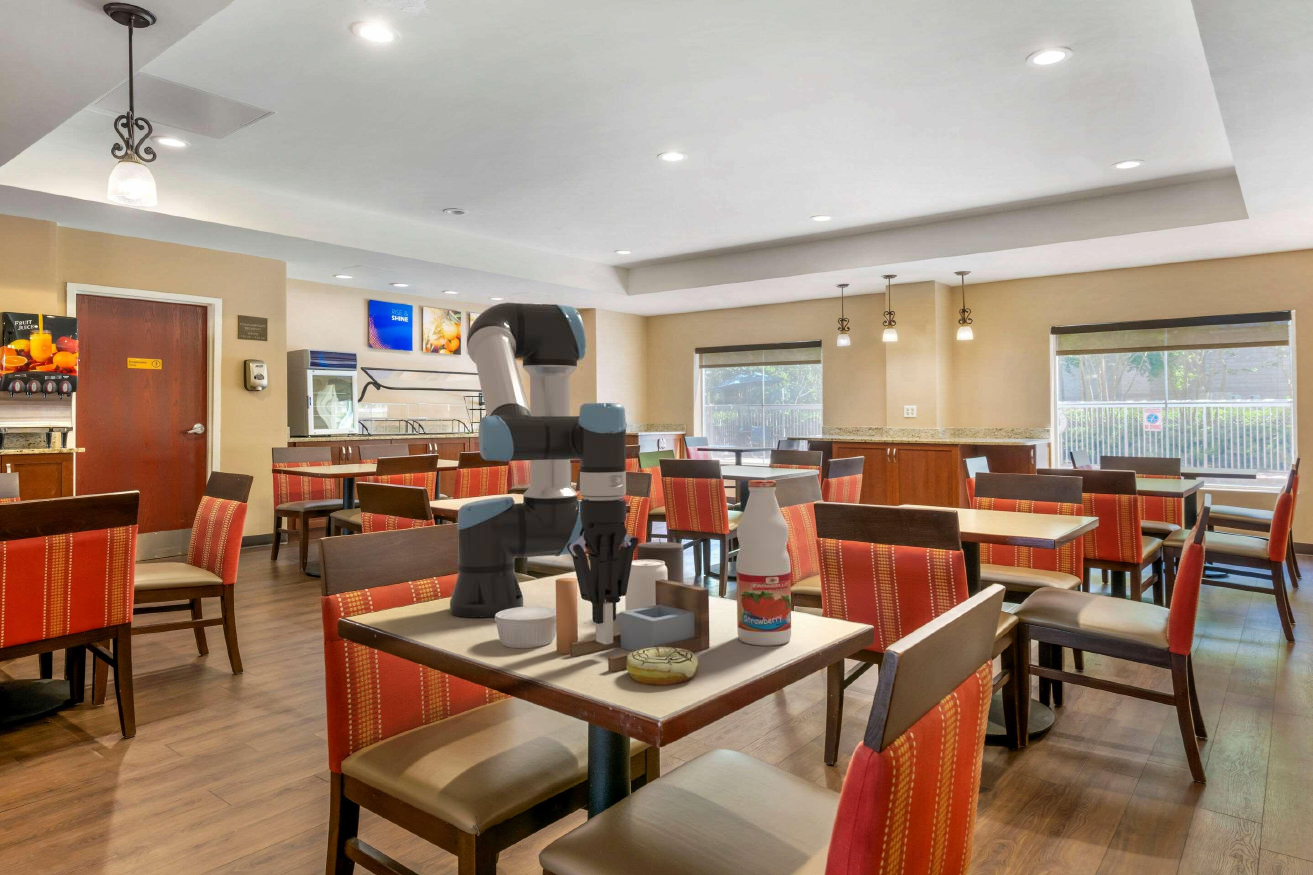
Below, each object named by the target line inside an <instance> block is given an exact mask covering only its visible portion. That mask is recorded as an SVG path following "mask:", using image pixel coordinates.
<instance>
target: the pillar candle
mask: <svg viewBox="0 0 1313 875" xmlns="http://www.w3.org/2000/svg"><path fill="white" fill-rule="evenodd" d="M636 549H637V551H636V553H637V554H636V555H637V556H636V558H637V559H636V560H661V561H664V562H665V566H666V567H667V578H668V580H669V581H674V582H678V583H683V584H684V544H683V543H679V542H667V541H661V538H660V537H659V538H658V541H649V542H648V541H647V542H641V543H638V544H637V546H636Z"/></svg>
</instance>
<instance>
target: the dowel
mask: <svg viewBox="0 0 1313 875" xmlns="http://www.w3.org/2000/svg"><path fill="white" fill-rule="evenodd" d="M555 609H556V635H555V637H556V640H555V641H556V653H557V654H561V655H570V643H572V642H577V641H579V636H578V635H579V625H578V623H579V622H578V620H579V618H578V616H579V615H578V614H579V613H578V611H579V610H578V580H577V578H574V577H561V578H557V579H555Z"/></svg>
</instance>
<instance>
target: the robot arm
mask: <svg viewBox="0 0 1313 875" xmlns="http://www.w3.org/2000/svg"><path fill="white" fill-rule="evenodd" d="M584 325H585V324H584V322H583V318H582V316H581V314H580V312H579V311H578V310H577V309H576V308H575V307H573V306H570V305H569V306H568V305H562V304H558V303H557V304H551V303H550V304H547V303H545V304H544V303H543V304H542V303H523V302H522V303H521V302H520V303H519V302H518V303H516V302H503V303H497V304H496V305H492V306H490V307H488V308H487V309H485V310H484V311H483V312H482V313H480V314H479V315H478V316H477V317H476V318H475V320H474V321H473V322H472V324H471V326H470V328H469V330H468V333H467V337H466V346H467V347H466V348H467V352H468V356H469V358H470V360H471V361H472V362H473V363H474V364H475V366H476V371H477V375H478V380H479V386H480V389H481V394H482V398H483V403H484V409H485V413H486V416H484V417H482V418H480V420H479V424H478V449H479V454H480V456H481V458H482V459H483V460H485V461H493V462H494V461H495V462H496V461H497V462H498V461H499V462H503V463H505V462H516V461H519V462H520V461H521V462H522V461H523V462H524V461H530V464H529V465H530V470H529V474H530V475H529V476H530V478H529V480H530V482H529V483H530V484H529V485H530V486H529V488H527V490H526V491H525V492H524V493H523V494H522V495H523V499H522V500H523V502H518V503H515V500H514V498H513V497H512V496H503V497H501V496H500V497H493V498H488V499H487V498H486V499H480V500H476V501H472V502H467V503H465V504H463V505H461V506H460V507H459V509H458V512H457V525H456V530H457V578H456V581H455V585H454V587H453V591H452V594H451V596H450V601H449V612H451V613H452V614H451V613H450V614H451V615H453V614H454V615H453V616H456V615H457V617H461V616H465V617H464V618H493V617H494V618H495V614H496V613H498V612H500V611H503V610H506V609H511V608H517V607H524V596H523V592H522V590H521V588H520V583H519V581H518V578H517V575H516V571H515V559H518V558H520V559H521V558H522V559H523V558H535V557H549V556H550V557H551V556H554V557H560V556H563V555H571V557H572V561H573V566H574V571H575V576H576V579H577V586H578V589H579V594H580V597H581V599H582V600H584V601H587V602H590V603H591V612H592V615H591V616H592V617H591V619H592V623H593V624H595V638H596V641H597V642H600V643H603V644H605V645H606V644H610V643H613V634H614V621H616V619H617V603H620V601H621V597H625V595H626V593H627V587H628V582H629V576H630V570H631V565H632V561H633V559H634V553H635V550H636V549H637V546H638V544H639V538H638V537H635V536H632V535H630V534H629V533H628V529H627V526H626V524H625V521H626V520H627V500H626V498H623V496H626V494H627V467H626V466H627V455H626V454H627V426H628V425H627V422H626V409H625V407H624V405H623V404H621V403H618V402H589V403H588V402H587V403H583V404H582V405H581V406H580V407H579V412H578V413H579V414H578V415H576V416H575V415H573V416H572V415H571V375H573V373H574V372H575V371H576V370H577V369H578V362H579V361H581V360H583V359H584V357H585V355H586V346H587V340H586V339H587V338H586V331H585V330H586V329H585V326H584ZM516 359H522V368H523V370H524V371H525V372H527V373H528V375H529V403H528V400H527V394H526V392H525V389H524V386H523V383H522V379H521V374H520V372H519V368H518V365H517V361H516ZM571 460H579V495H580V496H581V497H582V499H581V500H580V499H578V493H577V491H575V490H574V488H573V487H572V486H571ZM586 552H588V553H586Z"/></svg>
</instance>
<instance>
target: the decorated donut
mask: <svg viewBox="0 0 1313 875" xmlns="http://www.w3.org/2000/svg"><path fill="white" fill-rule="evenodd" d="M632 652H633V651H632ZM698 663H699V659H698V657H697V655H695V653H694V652H690V651H689V650H686V649H680V648H671V647H651V648H645V649H641V650H637V651H635V652H633V653H631V654H629V655H628V657H627V661H626V664H627V666H626V667H627V669H626V671H627V672H628V673H629V674H628V675H630V677H631V678H632V679H633V680H634V681H636V682H637V683H641V684H643V685H656V686H671V685H674V684H680V683H684V682H686V681H690V680H692V678H694V677H695V676H696V674H697V671H698V668H699V666H698V665H699V664H698Z"/></svg>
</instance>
